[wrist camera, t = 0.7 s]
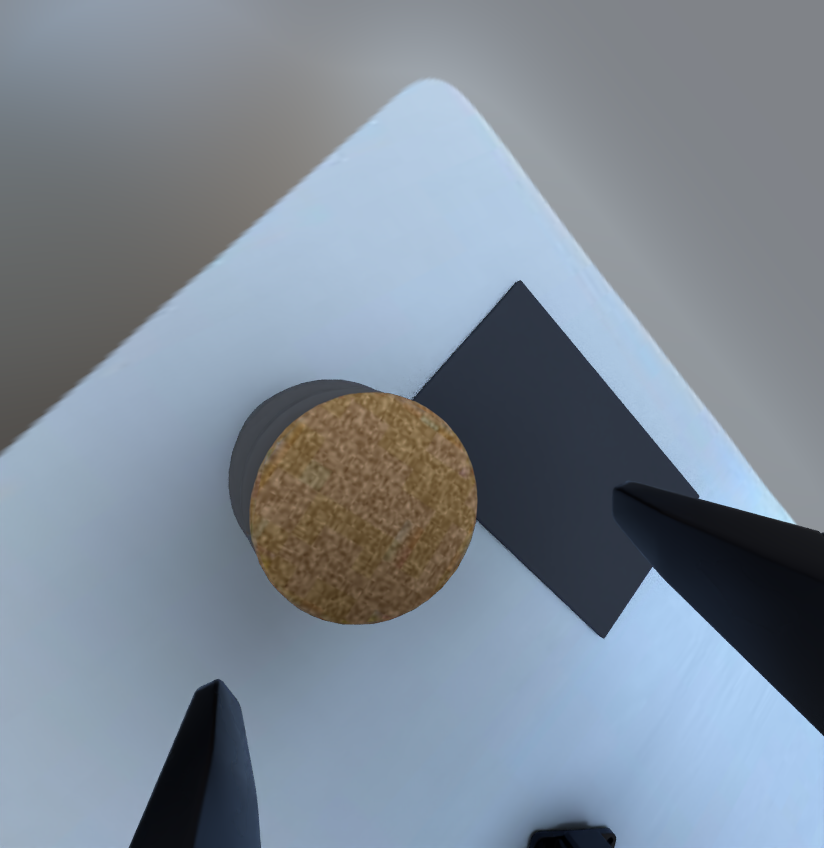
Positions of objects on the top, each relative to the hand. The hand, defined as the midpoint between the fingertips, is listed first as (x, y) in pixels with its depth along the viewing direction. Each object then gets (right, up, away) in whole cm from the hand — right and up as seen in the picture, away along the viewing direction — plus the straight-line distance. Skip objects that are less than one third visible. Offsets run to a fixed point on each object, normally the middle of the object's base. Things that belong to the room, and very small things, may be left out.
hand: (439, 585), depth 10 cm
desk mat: (+9, +1, +19) cm, 21 cm away
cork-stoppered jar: (-6, +2, +14) cm, 15 cm away
